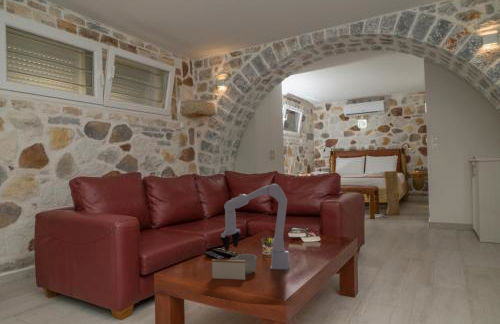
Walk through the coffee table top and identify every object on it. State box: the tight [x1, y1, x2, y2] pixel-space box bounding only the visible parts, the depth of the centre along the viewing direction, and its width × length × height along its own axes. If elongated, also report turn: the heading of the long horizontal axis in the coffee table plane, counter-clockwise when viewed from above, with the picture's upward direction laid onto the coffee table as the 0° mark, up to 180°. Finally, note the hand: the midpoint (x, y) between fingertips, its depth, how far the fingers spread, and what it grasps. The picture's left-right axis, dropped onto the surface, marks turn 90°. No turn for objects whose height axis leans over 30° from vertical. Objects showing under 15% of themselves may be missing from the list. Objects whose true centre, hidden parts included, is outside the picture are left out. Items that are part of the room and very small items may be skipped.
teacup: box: [228, 253, 257, 275], centre depth 169 cm, size 14×11×8 cm
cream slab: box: [211, 258, 246, 280], centre depth 160 cm, size 16×2×9 cm, turn 79°
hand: (231, 248), depth 178 cm, fingers open, 7 cm apart
